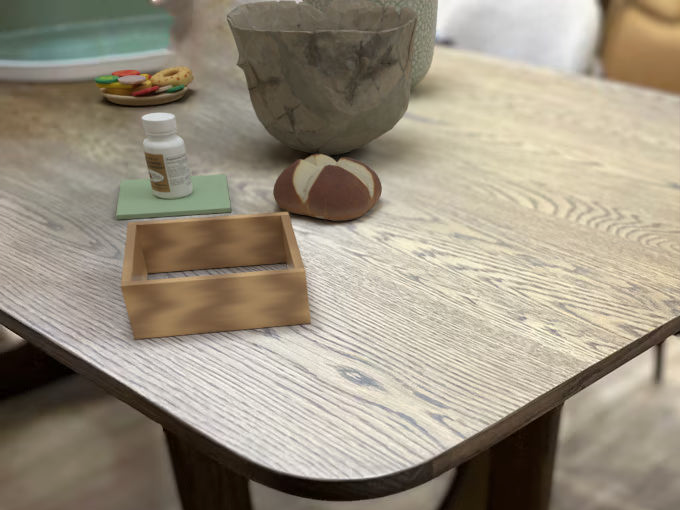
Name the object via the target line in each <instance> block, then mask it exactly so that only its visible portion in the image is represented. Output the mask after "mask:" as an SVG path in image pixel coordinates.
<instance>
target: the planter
mask: <svg viewBox="0 0 680 510" xmlns="http://www.w3.org/2000/svg"><path fill="white" fill-rule="evenodd" d="M303 1H307V2H308V3H309V4H311V5H312V6H313V7H315V8H316V9H318V10H320V11H321V12H322V13H323V12H324V8H325V7H328V6H329V4H330V3H331V2H332V1H333V0H302V1H301V2H303ZM350 1H369V2H374V3H376V4H378V5H382V6H383V7H384V8H385V10H386V8H387V6H388V5H391V6H394V7H395V8H396V11H397V12H398V14H399V15H400V10H401V8H403V7H407V8H409V9H411V10H413V11H416V13H417V15H418V22H417V28H416V33H415V39H414V45H413V47H414V49H415V52H414V53H413V58H412V72H411V84H410V92H411V91H412V90H414V89H415V88H417V86H418V85H419V84H420V83H421V82H422V81H423V80H424V79H425V78H426V76H427V75H428V74H429V71H430V69H431V66H432V63H433V60H434V54H435V44H436V34H437V33H436V32H437V25H438V7H439V0H350Z"/></svg>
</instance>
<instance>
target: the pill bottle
mask: <svg viewBox="0 0 680 510" xmlns="http://www.w3.org/2000/svg"><path fill="white" fill-rule="evenodd" d="M176 119H177V118H176V116H175V115H174V114H173V113H169V112H150V113H147V114H144V115H142V116H141V122H142V127H143V130H144V133H145V134H146V136H147V137H146V138H144V140H143V142H142V148H143V154H144V158H145V163H146V167H147V171H148V176H149V179H150V182H151V186H152V191H153V194H154V195H155V196H157V197H160V198H164V199H177V198H182V197H185V196H188V195H190V194H191V193H192V191H193V187H192V181H191V176H192V175H191V171H190V166H189V161H188V160H189V159H188V156H187V150H186V145H185V141H184V139H183V138H182V137H181V136H179V135H177V132H178V124H177V120H176Z"/></svg>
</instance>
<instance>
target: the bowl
mask: <svg viewBox="0 0 680 510" xmlns="http://www.w3.org/2000/svg"><path fill="white" fill-rule="evenodd" d="M226 21H227V23H228V26H229V29H230V31H231V34H232V36H233V40H234V43H235V45H236V50H237V53H238V60H237V62H236V63H235V64H236V66H237V67H239V68H240V69H241V70H243V73H244V76H245V81H246V85H247V86H246V87H247V90H248V93H249V99H250V101H251V106H252V108H253V111H254V113H255V115H256V117H257V119H258V121H259V123H260V124H261V125H262V126H263V128H264V129H265V130H266V131H267V133H268V134H269V135H270V136H272V137H273V138H274V139H276V140H277V141H278V142H280V143H281V144H283V145H285V146H287V147H290V148H292V149H294V150H297V151H301V152H305V153H309V154H323V155H326V156H337V155H338V156H339V155H342V154H343V155H344V154H348V153H349V152H352V151H354V150H356V149H359V148H361V147H363V146H365V145H368V144H369V143H372V142H374V141H375V140H377V139H378V138H380V137H381V136H383V135H385V134H386V133H388V132H390V131H391V130H392V129H393V128H394V127H395V126H396V125H397V124H398V123H399V122H400V121H401V119H402V118H403V117H404V115H405V114H406V112H407V110H408V107H409V103H410V95H411V94H410V92H411V91H410V84H411V72H412V58H413V53H414V52H415V49H414V47H413V45H414V39H415V33H416V28H417V22H418V15H417V13H416V11H413V10H411V9H409V8H407V7H403V8H401V10H400V15H399V14H398V12H397V11H396V8H395V7H394V6H391V5H388V6H387V8H386V10H385V8H384V7H383V6H382V5H378V4H376V3H374V2H369V1H350V0H333V1H332V2H331V3H330V4H329V6H328V7H325V8H324V12H323V13H322V12H321V11H320V10H318V9H316V8H315V7H313V6H312V5H311V4H309V3H308V2H307V1H299V2H298V3H297V2H296V0H279V1H277V0H266V1H255V2H248V3H243V4H240V5H237V6H236V7H235V8H234V9H233V10H231V11H230V12H228V13H227V14H226Z"/></svg>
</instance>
